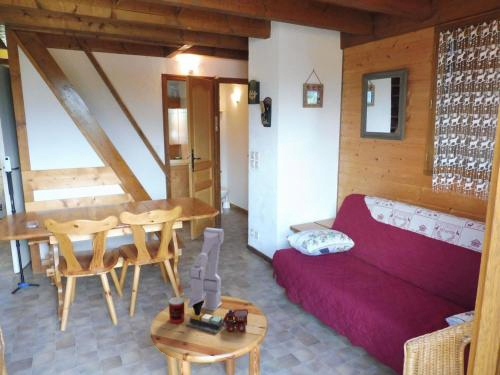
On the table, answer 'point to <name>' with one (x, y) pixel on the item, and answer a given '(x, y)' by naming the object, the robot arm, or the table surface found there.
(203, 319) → the cream button
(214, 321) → the teal button
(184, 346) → the table surface
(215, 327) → the button panel
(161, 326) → the table surface
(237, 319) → the toy fire truck
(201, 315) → the amber button
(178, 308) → the canned food
